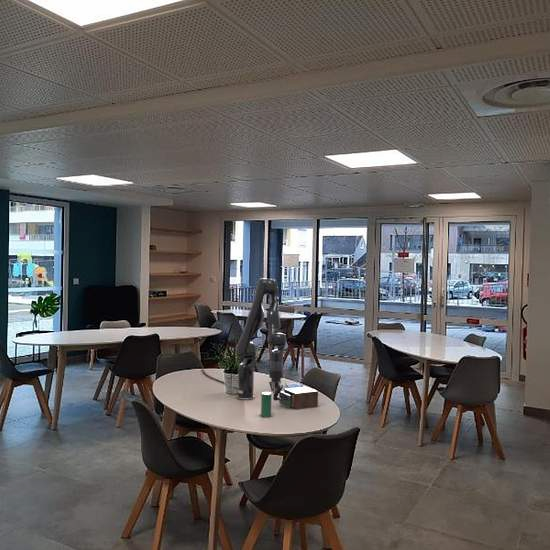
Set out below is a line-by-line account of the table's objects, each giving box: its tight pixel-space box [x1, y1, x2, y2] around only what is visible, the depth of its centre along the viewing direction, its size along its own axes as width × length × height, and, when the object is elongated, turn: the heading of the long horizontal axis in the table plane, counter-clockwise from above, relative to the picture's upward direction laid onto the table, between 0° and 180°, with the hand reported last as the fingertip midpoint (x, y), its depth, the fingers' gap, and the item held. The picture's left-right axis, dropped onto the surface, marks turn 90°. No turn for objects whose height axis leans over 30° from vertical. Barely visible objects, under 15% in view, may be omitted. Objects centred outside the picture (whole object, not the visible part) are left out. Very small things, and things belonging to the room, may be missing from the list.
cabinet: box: [283, 386, 319, 410], centre depth 304 cm, size 15×13×9 cm
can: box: [260, 391, 272, 418], centre depth 281 cm, size 5×5×12 cm
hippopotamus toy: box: [284, 382, 304, 389], centre depth 323 cm, size 11×15×10 cm
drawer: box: [277, 390, 294, 409], centre depth 301 cm, size 18×12×7 cm, turn 117°
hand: (275, 400), depth 297 cm, fingers closed
